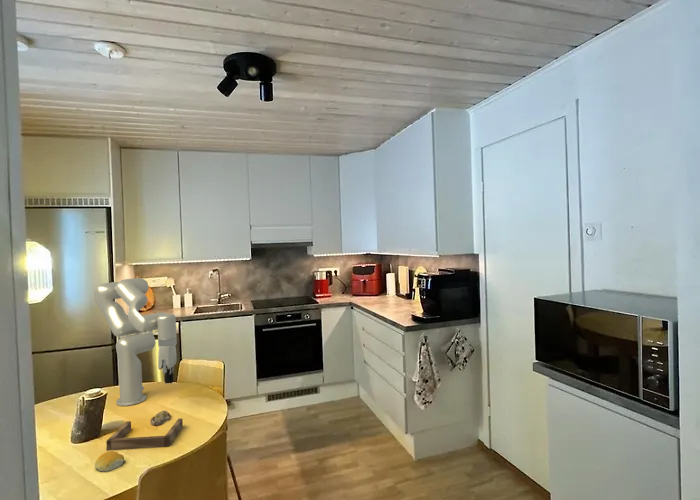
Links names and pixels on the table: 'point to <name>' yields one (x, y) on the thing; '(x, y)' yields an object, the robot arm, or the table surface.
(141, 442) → the dark wooden frame
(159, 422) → the mineral rock
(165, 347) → the robot arm
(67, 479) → the table surface
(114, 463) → the bread roll
